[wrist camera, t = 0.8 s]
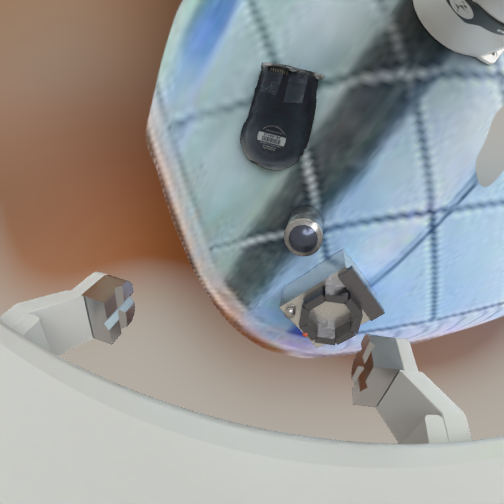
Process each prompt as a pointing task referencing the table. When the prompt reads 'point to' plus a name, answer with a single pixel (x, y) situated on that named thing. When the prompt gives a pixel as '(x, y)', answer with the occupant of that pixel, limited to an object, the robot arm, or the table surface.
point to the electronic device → (280, 116)
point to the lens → (304, 231)
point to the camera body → (330, 301)
